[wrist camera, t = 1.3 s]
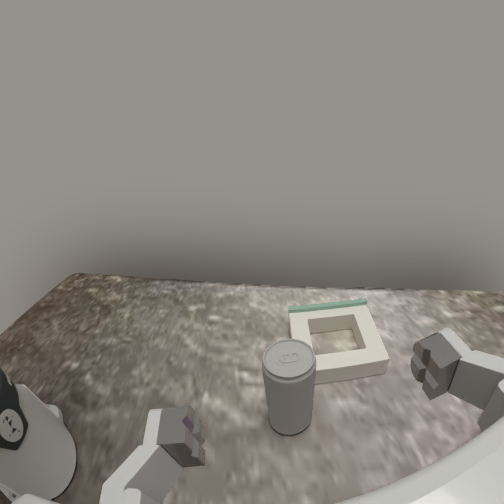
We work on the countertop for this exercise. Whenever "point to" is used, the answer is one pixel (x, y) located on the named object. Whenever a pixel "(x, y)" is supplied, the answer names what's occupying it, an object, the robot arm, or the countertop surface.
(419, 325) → the countertop surface
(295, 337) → the socket block
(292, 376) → the beverage can
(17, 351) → the countertop surface
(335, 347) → the countertop surface
